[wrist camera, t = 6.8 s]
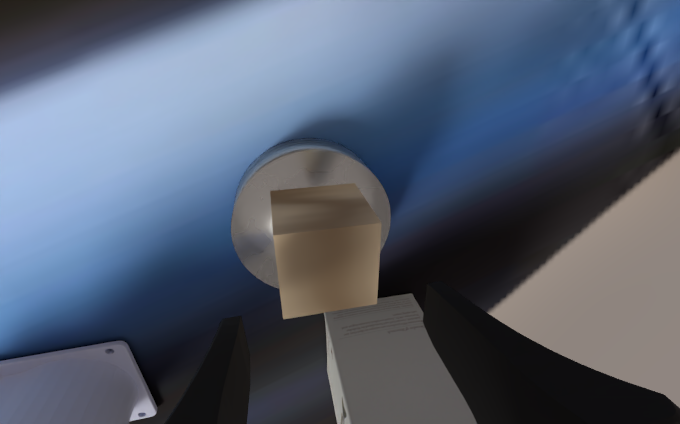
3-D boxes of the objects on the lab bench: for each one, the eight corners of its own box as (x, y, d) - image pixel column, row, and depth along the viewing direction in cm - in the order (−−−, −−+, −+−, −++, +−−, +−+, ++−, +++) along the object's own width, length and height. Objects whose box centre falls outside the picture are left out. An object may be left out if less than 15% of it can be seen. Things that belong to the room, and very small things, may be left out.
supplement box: (321, 305, 25) (369, 514, 14) (413, 290, 26) (524, 471, 15) (324, 370, 28) (364, 580, 17) (405, 354, 30) (491, 539, 19)
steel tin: (247, 273, 22) (245, 303, 20) (221, 143, 18) (215, 160, 16) (373, 254, 24) (387, 280, 21) (376, 131, 20) (394, 144, 17)
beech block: (278, 262, 19) (283, 319, 15) (270, 191, 17) (273, 235, 13) (353, 252, 20) (377, 303, 16) (354, 183, 18) (381, 222, 14)
